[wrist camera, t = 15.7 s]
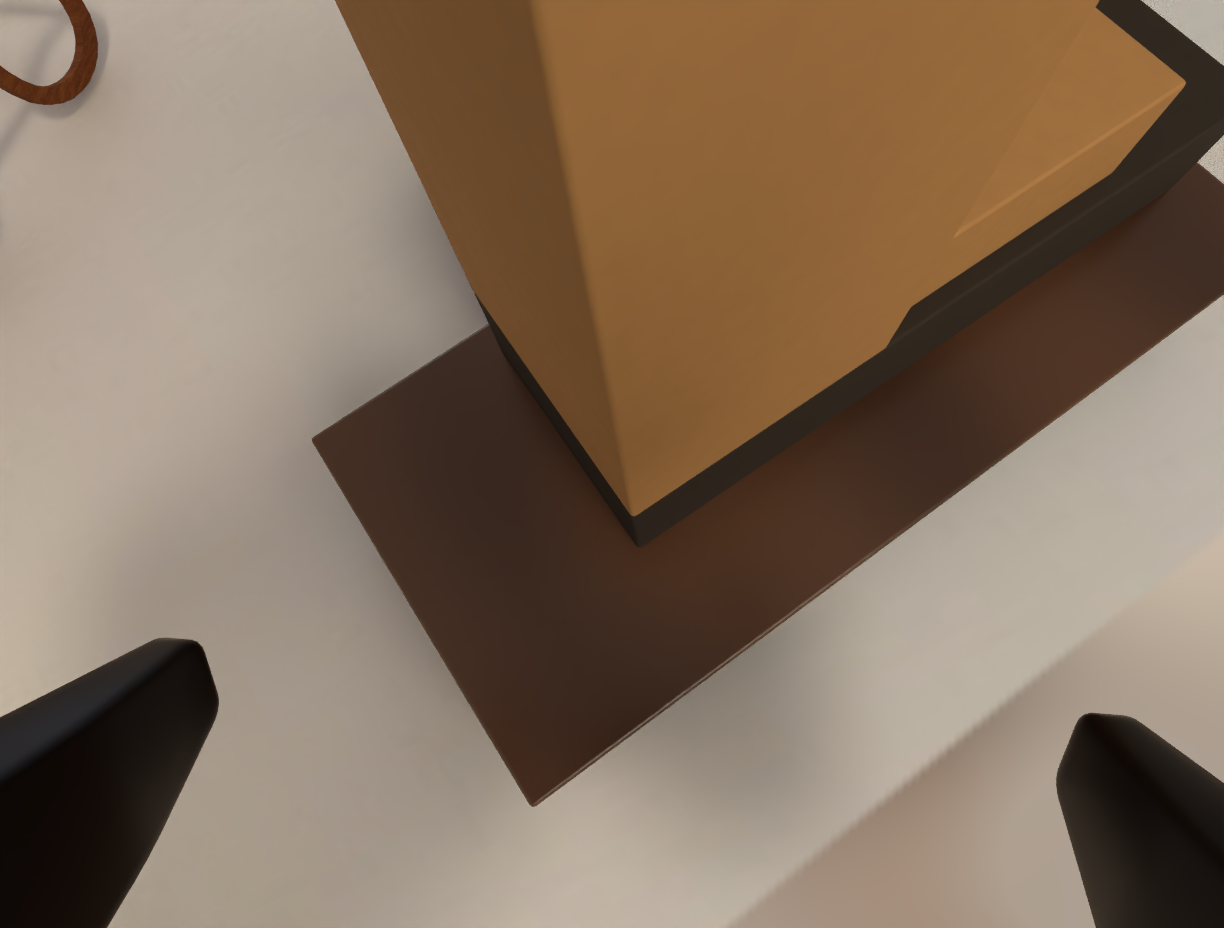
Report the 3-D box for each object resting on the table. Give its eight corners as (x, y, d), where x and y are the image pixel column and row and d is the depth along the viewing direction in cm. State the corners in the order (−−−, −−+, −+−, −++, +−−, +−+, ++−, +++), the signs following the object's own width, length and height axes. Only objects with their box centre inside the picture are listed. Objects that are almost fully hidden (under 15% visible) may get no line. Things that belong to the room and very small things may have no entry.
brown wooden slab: (558, 787, 19) (531, 809, 15) (371, 483, 22) (309, 438, 18) (1185, 321, 22) (1296, 240, 18) (944, 103, 24) (995, -6, 21)
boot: (638, 549, 17) (524, -40, 3) (501, 352, 18) (71, -550, 5) (1172, 188, 18) (2468, -1129, 5) (1001, 38, 20) (1642, -1235, 7)
